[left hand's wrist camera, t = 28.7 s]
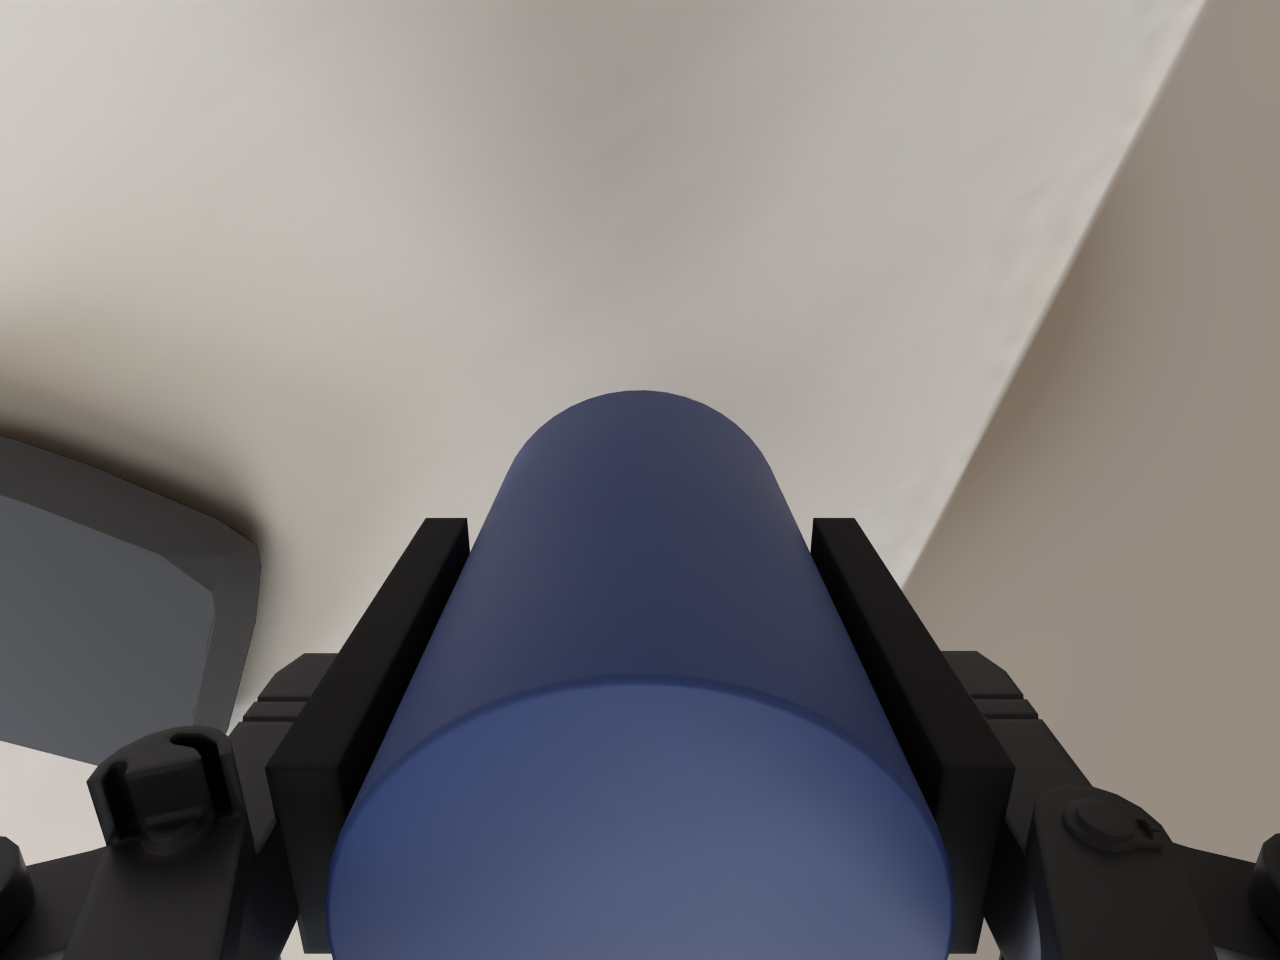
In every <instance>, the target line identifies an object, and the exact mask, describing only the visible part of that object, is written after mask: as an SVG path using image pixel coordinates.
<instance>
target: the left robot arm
mask: <svg viewBox="0 0 1280 960" xmlns="http://www.w3.org/2000/svg"><path fill="white" fill-rule="evenodd" d="M469 554H470V547H469V536H468V524H467V518H426V519H425V520H424V522H423V523H422V525H421V527H420V528H419V530H418V531H417V533H416V534H415V536H414V537H413V539H412V540H411V542H410V544H409V545H408V547H407V548H406V550H405V551H404V553H403V554H402V556H401V557H400V559H399V561H398V562H397V564H396V565H395V567H394V568H393V570H392V571H391V573H390V574H389V576H388V577H387V579H386V581H385V582H384V584H383V585H382V587H381V588H380V590H379V591H378V593H377V594H376V596H375V598H374V599H373V601H372V602H371V604H370V605H369V607H368V608H367V610H366V611H365V613H364V615H363V616H362V618H361V619H360V621H359V622H358V624H357V625H356V627H355V628H354V630H353V632H352V633H351V635H350V636H349V638H348V639H347V641H346V642H345V644H344V645H343V647H342V649H341V650H340V652H339V653H304V654H303V655H301V656H300V657H299V658H297V659H296V660H294V661H293V662H291V663H290V664H289V665H287V666H286V667H284V668H283V669H281V670H280V671H278V672H277V673H276V674H275V675H274V676H273V678H272V679H271V680H270V682H269V683H268V684H267V686H266V687H265V688H264V690H263V691H262V692H261V694H260V695H259V696H258V701H257V702H254V703H253V704H252V706H251V707H250V708H249V710H248V711H247V712H246V714H245V715H244V716H243V721H242V722H239V723H238V724H237V726H236V727H235V728H234V730H233V731H232V732H231V734H230V735H229V736H227V735H225V734H224V733H223V732H222V731H221V730H219V729H216V728H211V727H206V726H201V725H196V726H183V727H174V728H170V729H166V730H163V731H159V732H156V733H152V734H149V735H146V736H144V737H142V738H140V739H138V740H136V741H134V742H132V743H130V744H128V745H126V746H124V747H122V748H120V749H119V750H117V751H116V752H115V753H114V754H112V755H111V756H110V757H108V758H107V759H106V760H104V761H103V762H102V763H100V764H99V766H98V767H97V768H96V770H95V771H94V772H93V774H92V775H91V776H90V778H89V779H88V780H87V785H88V788H89V792H90V795H91V798H92V801H93V804H94V807H95V810H96V814H97V817H98V820H99V823H100V826H101V829H102V832H103V836H104V839H105V842H106V846H105V847H102V848H99V849H96V850H92V851H89V852H84V853H80V854H76V855H72V856H67V857H63V858H59V859H55V860H50V861H46V862H42V863H38V864H33V865H29V866H26V865H25V863H24V860H23V857H22V854H21V852H20V849H19V846H17V845H16V844H15V843H13V842H12V841H11V840H9V839H8V838H7V837H2V836H0V960H281V957H280V954H281V952H282V950H283V948H284V946H285V944H286V942H287V940H288V937H289V935H290V933H291V931H292V929H293V927H294V925H295V922H296V920H297V922H298V926H299V931H300V936H301V940H302V945H303V950H304V954H332V953H331V948H330V944H329V940H328V935H327V927H326V905H325V893H326V886H327V878H328V871H329V864H330V861H331V858H332V855H333V852H334V849H335V846H336V843H337V840H338V837H339V834H340V832H341V830H342V828H343V825H344V823H345V821H346V819H347V817H348V815H349V813H350V810H351V808H352V806H353V804H354V802H355V800H356V797H357V795H358V793H359V791H360V789H361V787H362V785H363V782H364V780H365V778H366V776H367V774H368V772H369V769H370V767H371V765H372V763H373V761H374V759H375V757H376V754H377V752H378V750H379V748H380V746H381V744H382V741H383V739H384V737H385V735H386V733H387V731H388V729H389V726H390V724H391V722H392V720H393V718H394V716H395V713H396V711H397V709H398V707H399V705H400V703H401V701H402V698H403V696H404V694H405V692H406V690H407V688H408V686H409V683H410V681H411V679H412V677H413V675H414V673H415V670H416V668H417V666H418V664H419V662H420V660H421V658H422V655H423V653H424V651H425V649H426V647H427V645H428V642H429V640H430V638H431V636H432V634H433V632H434V630H435V627H436V625H437V623H438V621H439V619H440V617H441V614H442V612H443V610H444V608H445V606H446V604H447V602H448V599H449V597H450V595H451V593H452V591H453V589H454V587H455V584H456V582H457V580H458V578H459V576H460V574H461V571H462V569H463V567H464V565H465V563H466V561H467V559H468V556H469ZM810 554H811V556H812V558H813V560H814V562H815V565H816V567H817V569H818V571H819V573H820V575H821V577H822V580H823V582H824V584H825V586H826V588H827V590H828V592H829V595H830V597H831V599H832V601H833V603H834V605H835V607H836V610H837V612H838V614H839V616H840V618H841V620H842V622H843V625H844V627H845V629H846V631H847V633H848V635H849V637H850V640H851V642H852V644H853V646H854V648H855V650H856V652H857V655H858V657H859V659H860V661H861V663H862V665H863V668H864V670H865V672H866V674H867V676H868V678H869V680H870V683H871V685H872V687H873V689H874V691H875V693H876V695H877V698H878V700H879V702H880V704H881V706H882V708H883V710H884V713H885V715H886V717H887V719H888V721H889V723H890V725H891V728H892V730H893V732H894V734H895V736H896V738H897V740H898V743H899V745H900V747H901V749H902V751H903V753H904V755H905V758H906V760H907V762H908V764H909V766H910V768H911V770H912V773H913V775H914V777H915V779H916V781H917V783H918V785H919V788H920V790H921V792H922V794H923V796H924V798H925V800H926V803H927V805H928V807H929V809H930V811H931V813H932V815H933V818H934V820H935V822H936V824H937V827H938V829H939V832H940V834H941V837H942V839H943V842H944V845H945V847H946V850H947V852H948V855H949V859H950V865H951V870H952V875H953V880H954V885H955V924H954V930H953V936H952V942H951V947H950V953H949V954H976V952H977V947H978V943H979V938H980V933H981V929H982V924H983V919H984V918H985V920H986V922H987V924H988V926H989V928H990V930H991V932H992V935H993V937H994V939H995V941H996V943H997V945H998V947H999V949H1000V957H999V960H1280V833H1279V834H1275V835H1274V836H1272V837H1271V838H1270V839H1268V840H1267V841H1266V842H1264V843H1263V846H1262V848H1261V851H1260V854H1259V856H1258V859H1257V862H1256V863H1252V862H1248V861H1243V860H1239V859H1235V858H1231V857H1227V856H1223V855H1218V854H1214V853H1210V852H1205V851H1201V850H1197V849H1193V848H1189V847H1186V846H1182V845H1179V844H1176V843H1173V842H1172V841H1171V839H1170V838H1169V836H1168V835H1167V833H1166V832H1165V830H1164V828H1163V827H1162V825H1161V824H1159V823H1158V822H1157V821H1156V820H1155V819H1154V818H1152V817H1151V816H1150V815H1149V814H1148V813H1147V812H1145V811H1144V810H1143V809H1142V808H1141V807H1139V806H1137V805H1135V804H1133V803H1131V802H1130V801H1128V800H1126V799H1124V798H1122V797H1120V796H1119V795H1117V794H1114V793H1111V792H1108V791H1105V790H1101V789H1098V788H1095V787H1093V786H1092V785H1091V784H1090V782H1089V781H1088V780H1087V778H1086V777H1085V776H1084V774H1083V773H1082V772H1081V770H1080V769H1079V768H1078V767H1077V765H1076V764H1075V763H1074V761H1073V760H1072V759H1071V757H1070V756H1069V755H1068V753H1067V752H1066V751H1065V749H1064V748H1063V747H1062V745H1061V744H1060V743H1059V741H1058V740H1057V739H1056V737H1055V736H1054V735H1053V734H1052V732H1051V731H1050V729H1049V728H1048V727H1047V725H1046V724H1045V723H1044V721H1043V720H1042V719H1038V714H1037V712H1036V711H1035V710H1034V708H1033V707H1032V706H1031V704H1030V703H1029V702H1028V700H1026V699H1024V698H1023V694H1022V692H1021V691H1020V690H1019V688H1018V687H1017V686H1016V684H1015V683H1014V682H1013V680H1012V679H1011V678H1010V676H1009V675H1008V674H1007V672H1006V671H1004V670H1003V669H1002V668H1000V667H999V666H997V665H996V664H994V663H993V662H992V661H990V660H989V659H987V658H986V657H984V656H983V655H981V654H980V653H979V652H977V651H940V649H939V648H938V646H937V645H936V643H935V642H934V640H933V638H932V637H931V635H930V634H929V632H928V631H927V629H926V628H925V626H924V625H923V623H922V622H921V620H920V618H919V617H918V615H917V614H916V612H915V611H914V609H913V608H912V606H911V605H910V603H909V601H908V600H907V598H906V597H905V595H904V594H903V592H902V591H901V589H900V588H899V586H898V584H897V583H896V581H895V580H894V578H893V577H892V575H891V574H890V572H889V571H888V569H887V567H886V566H885V564H884V563H883V561H882V560H881V558H880V557H879V555H878V554H877V552H876V551H875V549H874V547H873V546H872V544H871V543H870V541H869V540H868V538H867V537H866V535H865V534H864V532H863V530H862V529H861V527H860V526H859V524H858V523H857V521H856V520H855V518H813V530H812V541H811V553H810Z"/></svg>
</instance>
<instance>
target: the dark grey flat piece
mask: <svg viewBox="0 0 1280 960" xmlns="http://www.w3.org/2000/svg"><path fill="white" fill-rule="evenodd" d="M260 573H261V563H260V559H259V555H258V551H257V547H256V545H255V544H254V543H252V542H251V541H249V540H248V539H246V538H245V537H243V536H242V535H240V534H239V533H237V532H236V531H234V530H233V529H231V528H230V527H228V526H227V525H225V524H224V523H222V522H221V521H219V520H218V519H216V518H213V517H211V516H209V515H206V514H204V513H202V512H199V511H197V510H194V509H192V508H190V507H187V506H185V505H183V504H180V503H178V502H175V501H173V500H171V499H168V498H166V497H163V496H161V495H159V494H156V493H154V492H152V491H149V490H147V489H144V488H142V487H140V486H137V485H135V484H133V483H130V482H128V481H125V480H123V479H121V478H118V477H116V476H113V475H111V474H109V473H106V472H104V471H102V470H99V469H97V468H94V467H92V466H90V465H87V464H85V463H82V462H79V461H76V460H73V459H70V458H67V457H64V456H61V455H58V454H55V453H52V452H49V451H46V450H43V449H40V448H37V447H34V446H31V445H28V444H25V443H22V442H19V441H16V440H13V439H10V438H7V437H3V436H0V741H4V742H8V743H12V744H16V745H20V746H24V747H27V748H31V749H35V750H39V751H43V752H47V753H51V754H54V755H58V756H62V757H66V758H70V759H74V760H78V761H82V762H85V763H89V764H93V765H97V766H99V764H100V763H102V762H103V761H104V760H106V759H107V758H108V757H110V756H111V755H112V754H114V753H115V752H116V751H117V750H119V749H120V748H122V747H124V746H126V745H128V744H130V743H132V742H134V741H136V740H138V739H140V738H142V737H144V736H146V735H149V734H152V733H156V732H159V731H163V730H166V729H170V728H174V727H183V726H196V725H201V726H206V727H211V728H216V729H219V730H221V731H222V732H223V733H224V734H226V732H227V730H228V727H229V723H230V719H231V716H232V712H233V708H234V704H235V700H236V696H237V692H238V688H239V684H240V680H241V676H242V673H243V669H244V665H245V661H246V657H247V653H248V649H249V645H250V641H251V637H252V634H253V630H254V626H255V622H256V614H257V604H258V593H259V583H260Z"/></svg>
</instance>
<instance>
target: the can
mask: <svg viewBox="0 0 1280 960" xmlns="http://www.w3.org/2000/svg"><path fill="white" fill-rule="evenodd" d="M325 905H326V927H327V935H328V940H329V944H330V948H331V953H332V957H333V960H947V958H948V955H949V953H950V947H951V942H952V936H953V930H954V924H955V885H954V880H953V875H952V870H951V865H950V859H949V855H948V852H947V850H946V847H945V845H944V842H943V839H942V837H941V834H940V832H939V829H938V827H937V824H936V822H935V820H934V818H933V815H932V813H931V811H930V809H929V807H928V805H927V803H926V800H925V798H924V796H923V794H922V792H921V790H920V788H919V785H918V783H917V781H916V779H915V777H914V775H913V773H912V770H911V768H910V766H909V764H908V762H907V760H906V758H905V755H904V753H903V751H902V749H901V747H900V745H899V743H898V740H897V738H896V736H895V734H894V732H893V730H892V728H891V725H890V723H889V721H888V719H887V717H886V715H885V713H884V710H883V708H882V706H881V704H880V702H879V700H878V698H877V695H876V693H875V691H874V689H873V687H872V685H871V683H870V680H869V678H868V676H867V674H866V672H865V670H864V668H863V665H862V663H861V661H860V659H859V657H858V655H857V652H856V650H855V648H854V646H853V644H852V642H851V640H850V637H849V635H848V633H847V631H846V629H845V627H844V625H843V622H842V620H841V618H840V616H839V614H838V612H837V610H836V607H835V605H834V603H833V601H832V599H831V597H830V595H829V592H828V590H827V588H826V586H825V584H824V582H823V580H822V577H821V575H820V573H819V571H818V569H817V567H816V565H815V562H814V560H813V558H812V556H811V554H810V552H809V550H808V547H807V545H806V543H805V541H804V539H803V537H802V535H801V532H800V530H799V528H798V526H797V524H796V522H795V520H794V517H793V515H792V513H791V511H790V509H789V507H788V505H787V502H786V500H785V498H784V496H783V494H782V492H781V490H780V487H779V485H778V483H777V481H776V479H775V477H774V474H773V472H772V470H771V468H770V466H769V465H768V463H767V461H766V459H765V458H764V456H763V454H762V452H761V451H760V450H759V449H758V447H757V446H756V445H755V443H754V442H753V441H752V440H751V438H750V437H749V436H748V435H747V434H746V433H745V432H744V431H743V430H742V429H740V428H739V427H738V426H737V425H736V424H735V423H734V422H732V421H731V420H729V419H728V418H727V417H725V416H724V415H723V414H721V413H719V412H718V411H716V410H714V409H712V408H710V407H708V406H707V405H705V404H702V403H700V402H697V401H694V400H692V399H689V398H687V397H683V396H679V395H675V394H670V393H666V392H657V391H647V390H643V391H622V392H616V393H609V394H605V395H601V396H598V397H594V398H591V399H588V400H585V401H583V402H581V403H578V404H576V405H574V406H571V407H569V408H568V409H566V410H564V411H563V412H561V413H559V414H558V415H556V416H554V417H553V418H552V419H550V420H549V421H548V422H547V423H545V424H544V425H543V426H542V427H540V428H539V429H538V430H537V431H536V432H535V433H534V434H533V435H532V437H531V438H530V439H529V440H528V441H527V442H526V443H525V444H524V446H523V447H522V449H521V450H520V451H519V453H518V454H517V456H516V457H515V459H514V461H513V463H512V465H511V467H510V469H509V471H508V472H507V475H506V477H505V479H504V481H503V483H502V485H501V488H500V490H499V492H498V494H497V496H496V498H495V500H494V503H493V505H492V507H491V509H490V511H489V513H488V515H487V518H486V520H485V522H484V524H483V526H482V528H481V531H480V533H479V535H478V537H477V539H476V541H475V543H474V546H473V548H472V550H471V552H470V554H469V556H468V559H467V561H466V563H465V565H464V567H463V569H462V571H461V574H460V576H459V578H458V580H457V582H456V584H455V587H454V589H453V591H452V593H451V595H450V597H449V599H448V602H447V604H446V606H445V608H444V610H443V612H442V614H441V617H440V619H439V621H438V623H437V625H436V627H435V630H434V632H433V634H432V636H431V638H430V640H429V642H428V645H427V647H426V649H425V651H424V653H423V655H422V658H421V660H420V662H419V664H418V666H417V668H416V670H415V673H414V675H413V677H412V679H411V681H410V683H409V686H408V688H407V690H406V692H405V694H404V696H403V698H402V701H401V703H400V705H399V707H398V709H397V711H396V713H395V716H394V718H393V720H392V722H391V724H390V726H389V729H388V731H387V733H386V735H385V737H384V739H383V741H382V744H381V746H380V748H379V750H378V752H377V754H376V757H375V759H374V761H373V763H372V765H371V767H370V769H369V772H368V774H367V776H366V778H365V780H364V782H363V785H362V787H361V789H360V791H359V793H358V795H357V797H356V800H355V802H354V804H353V806H352V808H351V810H350V813H349V815H348V817H347V819H346V821H345V823H344V825H343V828H342V830H341V832H340V834H339V837H338V840H337V843H336V846H335V849H334V852H333V855H332V858H331V861H330V864H329V871H328V878H327V886H326V893H325Z"/></svg>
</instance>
